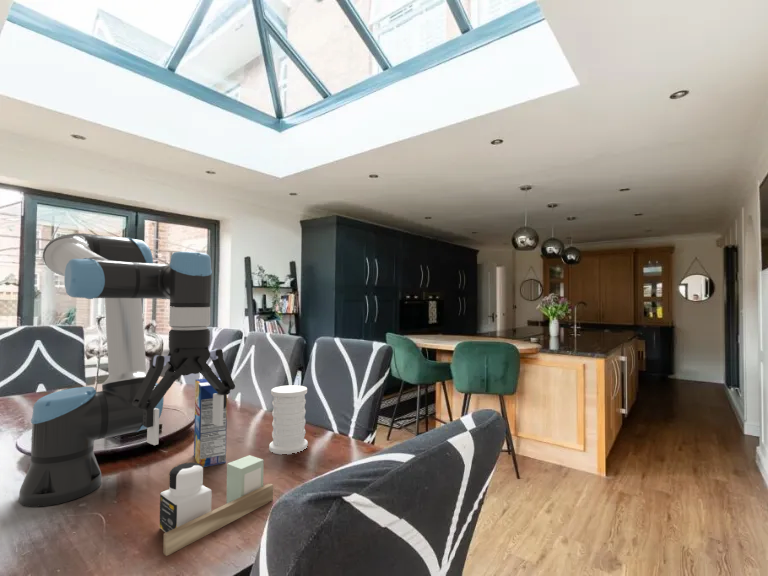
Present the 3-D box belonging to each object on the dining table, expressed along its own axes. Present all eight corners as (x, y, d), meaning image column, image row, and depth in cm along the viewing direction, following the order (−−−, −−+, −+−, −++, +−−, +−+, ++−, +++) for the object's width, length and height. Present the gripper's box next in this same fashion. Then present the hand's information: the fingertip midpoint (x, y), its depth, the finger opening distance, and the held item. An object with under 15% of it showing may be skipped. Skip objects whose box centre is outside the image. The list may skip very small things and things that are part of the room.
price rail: (162, 553, 72) (162, 533, 72) (268, 498, 92) (268, 482, 92) (166, 556, 71) (167, 535, 71) (272, 500, 91) (272, 484, 91)
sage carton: (226, 504, 89) (227, 463, 89) (248, 493, 94) (249, 455, 94) (240, 511, 86) (241, 469, 86) (263, 499, 91) (263, 459, 91)
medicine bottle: (158, 528, 80) (160, 467, 80) (194, 513, 85) (195, 456, 86) (175, 541, 75) (176, 477, 76) (211, 525, 81) (212, 465, 81)
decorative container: (261, 452, 120) (262, 391, 120) (282, 439, 131) (283, 383, 131) (295, 456, 116) (296, 394, 117) (314, 443, 127) (314, 386, 128)
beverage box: (199, 468, 108) (200, 386, 109) (193, 454, 117) (195, 379, 118) (225, 462, 112) (227, 383, 112) (218, 450, 121) (220, 377, 122)
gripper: (231, 324, 94) (229, 415, 93) (113, 330, 73) (109, 448, 72) (252, 325, 90) (250, 421, 89) (133, 333, 69) (129, 457, 68)
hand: (187, 433), depth 81 cm, fingers open, 13 cm apart
